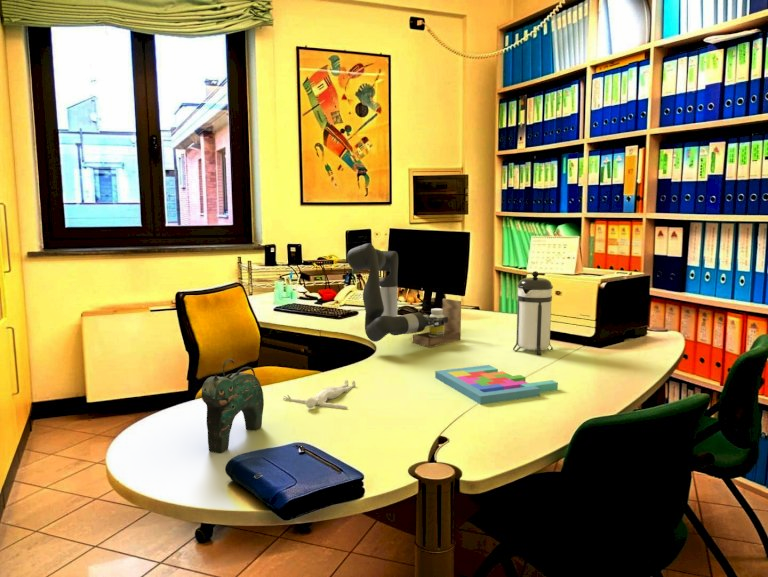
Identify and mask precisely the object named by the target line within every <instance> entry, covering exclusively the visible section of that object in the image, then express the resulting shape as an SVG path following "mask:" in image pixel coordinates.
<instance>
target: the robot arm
mask: <svg viewBox="0 0 768 577" xmlns="http://www.w3.org/2000/svg"><path fill="white" fill-rule="evenodd" d="M346 259H347V263H348V265H349V266H350V268H351V269H352V270H353V271H355V272H360V271H363V270H365V271H366V270H367V271H369V272H368V277H367V279H366V283H365V286H364V288H363V291H362V300H363V306H364V311H365V316H364V332H365V335H366V337H367V339H369V340H370V341H372V342H374V343H375V342H376V343H377V342H379V341H381V340H382V339H383V338H385V337H386V336H388V335H389V334H390V335H391V336H400V335H409V334H416V333H422V332H423V331H425V329H426V328H429V327H430V326H434V327H439V326H443V325H444V323H448V317H443V318H436V317H429V316H430V315H431V314H430V315H428V314H423V313H421V312H413V313H412V312H411V313H407V314H403V315H398V274H399V273H398V272H399V270H398V269H399V254H398V252H397V251H396V250H380V249H377V248H375V246H374V245H373V244H372V243H371V242H369V243H364V244H362V245H358V246H355V247H353V248H351V249H350V250H348V252H347V254H346ZM380 272H389V274H388V275H387V276H384V277H382V278H380ZM433 319H434V322H433Z"/></svg>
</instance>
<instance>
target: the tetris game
mask: <svg viewBox="0 0 768 577" xmlns="http://www.w3.org/2000/svg"><path fill="white" fill-rule="evenodd" d="M434 372H435V373H434V375H435V376H434V378H435V379H436V380H439V381H440V382H441V383H443V384H445V385H446V386H448V387H450V388H451V389H454V390H455V391H457V392H459V393H460V394H461V395H463V396H465V397H467V398H469V399H470V400H472V401H473V402H476V403H477V404H479V405H485V404H493V403H499V402H508V401H513V400H514V401H515V399H516V400H521V399H522V398H523V399H529V397H530V398H536V396H537V397H540V394H541V393H545V392H546V393H547V391H548V392H554V390H555V391H558V389H559V384H558V383H559V382H557V381H555V380H545V381H536V382H526V378H527V377H526V376H523V375H521V374H518V375H511V374H509V373H508V372H505V371H504V370H503V371H499V369H498V368H496V367H494V366H492V365H490V364H487V365H485V364H484V365H476V366H468V367H461V368H460V367H459V368H449V369H441V370H435V371H434Z"/></svg>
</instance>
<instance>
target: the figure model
mask: <svg viewBox="0 0 768 577" xmlns="http://www.w3.org/2000/svg"><path fill="white" fill-rule="evenodd" d="M355 387H356V381H355V380H352V382H351V385H349V380H348V379H345V381H344V384H342V385H339V386H330V387H329V386H328V387H324V388H323V390H321V391H320V392H318V393H316V394H315V395H314V397H309V398H307V399H300V398H292V397H290V395H287V396H285V395H284V396H283V397H282V399H283V400H284V401H289V402H294V403H300V404H305V406H306V407H307V408H308V409H312V408H314V407H315V406H317V407H318V406H319V407H322V408H333V409H340V410H347V409H348V406H346V405H342V404H339V403H332V402H327V401H328V400H333V399H336V398H337V397H338V396H339V395H341V394H344V393H347V392H349V391H350V390H352V388H355Z"/></svg>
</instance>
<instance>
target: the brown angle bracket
mask: <svg viewBox="0 0 768 577" xmlns="http://www.w3.org/2000/svg"><path fill="white" fill-rule="evenodd" d="M442 309H443V313H442V314H443V315H444V316H445V317H448V323H445V334H444V335H443V336H438V337H430V336H429V331H426V332H419V333H417V334H416V333H414V334H413V335H412V344H414V343H415V345H418V344H419V345H420V346H423V345H424V346H423V347H427V346H428V348H432V347H436V345H437V346H441V345H445V343H446V344H450V343H454V341H455V342H460V341H461V340H462V339H461V336H462V335H461V334H462V331H461V330H462V329H461V327H462V323H461V322H462V300H457V299H456V300H455V299H451V298H442ZM431 346H432V347H431Z"/></svg>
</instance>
